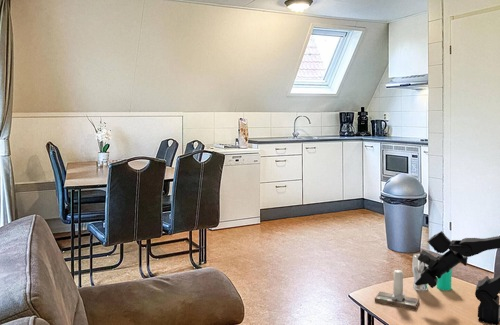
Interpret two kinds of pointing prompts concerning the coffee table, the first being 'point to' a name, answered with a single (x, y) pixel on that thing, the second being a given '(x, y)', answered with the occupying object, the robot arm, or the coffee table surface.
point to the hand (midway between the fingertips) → (416, 284)
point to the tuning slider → (398, 286)
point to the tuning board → (405, 303)
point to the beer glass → (418, 272)
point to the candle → (445, 281)
